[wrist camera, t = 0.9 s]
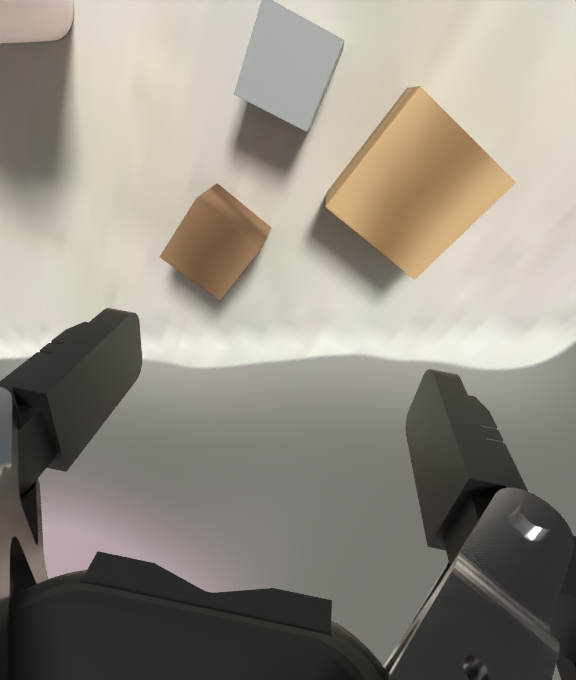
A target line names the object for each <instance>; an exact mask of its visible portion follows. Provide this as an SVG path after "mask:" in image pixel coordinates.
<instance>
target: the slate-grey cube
mask: <svg viewBox="0 0 576 680" xmlns="http://www.w3.org/2000/svg"><path fill="white" fill-rule="evenodd" d="M343 46H344V40H343V39H341V38H339V37H338V36H336V35H334V34H332V33H330V32H329V31H327V30H325V29H323V28H321V27H320V26H318V25H316V24H314V23H312V22H310V21H309V20H307V19H305V18H303V17H301V16H300V15H298V14H296V13H294V12H292V11H291V10H289V9H287V8H285V7H283V6H282V5H280V4H278V3H276V2H274V1H273V0H262V1H261V4H260V8H259V11H258V14H257V18H256V21H255V25H254V28H253V31H252V35H251V38H250V42H249V45H248V48H247V52H246V55H245V59H244V62H243V65H242V69H241V72H240V76H239V79H238V82H237V86H236V89H235V92H234V95H236V96H238V97H240V98H241V99H243V100H245V101H247V102H249V103H251V104H253V105H255V106H257V107H259V108H261V109H263V110H265V111H267V112H269V113H271V114H273V115H275V116H277V117H279V118H281V119H283V120H285V121H286V122H288V123H290V124H292V125H294V126H296V127H298V128H300V129H302V130H304V131H306V132H307V131H308V130H309V129H310V128H311V126H312V124H313V121H314V119H315V116H316V114H317V111H318V109H319V107H320V104H321V102H322V99H323V97H324V94H325V92H326V90H327V87H328V85H329V82H330V80H331V77H332V75H333V73H334V70H335V68H336V65H337V63H338V60H339V58H340V55H341V53H342V51H343Z"/></svg>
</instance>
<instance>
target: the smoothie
mask: <svg viewBox="0 0 576 680" xmlns="http://www.w3.org/2000/svg"><path fill="white" fill-rule="evenodd" d="M73 16H74V5H73V0H0V43H18V42H39V41H55V40H59V39H61V38H63V37H64V36H65V35H66V34H67V33H68V31H69V30H70V28H71V25H72V22H73Z"/></svg>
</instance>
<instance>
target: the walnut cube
mask: <svg viewBox="0 0 576 680" xmlns="http://www.w3.org/2000/svg"><path fill="white" fill-rule="evenodd" d="M270 229H271V227H270V226H269V225H267V224H266V223H265V222H264V221H263V220H261V219H260V218H259V217H258V216H256V215H255V214H254V213H253V212H252V211H250V210H249V209H248V208H247V207H245V206H244V205H243V204H242V203H241V202H239V201H238V200H237V199H236V198H234V197H233V196H232V195H231V194H230V193H228V192H227V191H226V190H225V189H223V188H222V187H221V186H220V185H219V184H216V185H214V186H213V187H211V188H210V189H209V190H207V191H206V192H204V193H203V194H202V195H200V196H199V197H198V198H196V200H195V201H194V203H193V204H192V206H191V208H190V209H189V211H188V212H187V214H186V216H185V217H184V219H183V220H182V222H181V224H180V225H179V227H178V228H177V230H176V231H175V233H174V235H173V236H172V238H171V239H170V241H169V243H168V244H167V246H166V247H165V249H164V251H163V252H162V254H161V255H160V258H162V259H163V260H164V261H166V262H167V263H168V264H170V265H171V266H173V267H174V268H175V269H177V270H178V271H180V272H181V273H182V274H184V275H185V276H186V277H188V278H189V279H191V280H192V281H193V282H195V283H196V284H198V285H199V286H200V287H202V288H203V289H204V290H206V291H207V292H209V293H210V294H211V295H213V296H214V297H215V298H217V299H218V300H221V299H222V297H223V296H224V295H225V294H226V292H227V291H228V290H229V288H230V287H231V286H232V285H233V283H234V282H235V281H236V280H237V278H238V277H239V276H240V275H241V273H242V272H243V271H244V270H245V268H246V267H247V266H248V265H249V263H250V262H251V261H252V259H253V258H254V257H255V256H256V254H257V253H258V252H259V251H260V249H261V247H262V245H263V243H264V241H265V239H266V237H267V235H268V233H269V231H270Z"/></svg>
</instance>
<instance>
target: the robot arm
mask: <svg viewBox="0 0 576 680" xmlns="http://www.w3.org/2000/svg"><path fill="white" fill-rule="evenodd" d="M141 366H142V351H141V338H140V325H139V318H138V316H137V314H136V313H132V312H127V311H121V310H116V309H111V308H107V309H105V310H103V311H102V312H101V313H100V314H98V315H97V316H96V317H95V318H94V319H92V320H91V321H90V322H89V323H88V322H83V323H81V324H78V325H76V326H74V327H71V328H69V329H66V330H65V331H63V332H62V333H61V334H60V335H58V336H57V337H56V338H55V339H53V340H52V343H48V344H47V345H46V346H44V347H43V348H42V349H41V350H40V352H37V353H36V354H34V355H33V356H32V357H31V358H29V359H28V360H27V361H25V362H24V363H23V364H22V365H20V366H19V367H18V368H17V369H15V370H14V371H13V372H12V373H10V374H9V375H8V376H6V377H5V378H4V379H3V380H1V381H0V680H552V679H553V675H554V671H555V667H556V665H557V668H558V671H559V674H560V677H561V680H576V536H574V535H573V533H572V531H571V529H570V527H569V525H568V523H567V522H566V521H565V519H564V518H563V517H562V516H561V514H560V513H559V512H558V511H557V510H556V509H555V508H554V507H552V506H551V505H550V504H549V503H547V502H546V501H545V500H543V499H542V498H540V497H538V496H536V495H535V494H532V493H531V492H528V490H527V488H526V486H525V484H524V482H523V480H522V478H521V476H520V474H519V471H518V469H517V467H516V465H515V463H514V461H513V459H512V457H511V455H510V453H509V451H508V449H507V447H506V445H505V444H504V443H503V438H502V437H501V434H500V432H499V431H498V430H497V426H496V424H495V422H494V420H493V418H492V416H491V414H490V412H489V411H488V410H487V409H486V407H485V406H484V405H483V404H482V403H480V401H479V400H478V399H477V398H476V397H474V396H469V395H467V393H466V390H465V388H464V386H463V383H462V381H461V379H460V377H459V376H458V375H457V374H452V373H447V372H442V371H436V370H431V369H429V370H427V371H426V372H425V374H424V376H423V378H422V380H421V383H420V385H419V388H418V390H417V392H416V395H415V397H414V400H413V402H412V405H411V407H410V409H409V412H408V415H407V420H406V436H407V442H408V447H409V452H410V457H411V462H412V467H413V473H414V478H415V483H416V488H417V493H418V498H419V504H420V508H421V514H422V519H423V524H424V529H425V535H426V540H427V545H428V547H433V548H437V549H442V550H446V551H447V556H448V560H449V562H448V564H447V565H446V567H445V568H444V570H443V572H442V573H441V575H440V576H439V578H438V579H437V581H436V583H435V584H434V586H433V588H432V589H431V591H430V593H429V594H428V596H427V597H426V599H425V601H424V602H423V604H422V606H421V608H420V609H419V611H418V612H417V614H416V615H415V617H414V619H413V620H412V622H411V624H410V625H409V627H408V629H407V630H406V632H405V633H404V635H403V636H402V638H401V640H400V641H399V643H398V644H397V646H396V647H395V649H394V650H393V652H392V653H391V655H390V657H389V658H388V660H387V661H386V663H385V665H384V666H382V664H381V663H380V662H379V660H378V659H377V658H376V657H375V656H374V655H373V654H372V652H371V651H370V650H369V649H368V648H367V647H366V646H365V645H364V644H363V643H362V642H361V641H360V640H359V639H357V638H356V637H355V636H354V635H353V634H352V633H350V632H349V631H347V630H346V629H345V628H343V627H342V626H340V625H339V624H337V623H335V622H333V621H331V608H332V606H331V605H332V601H331V600H327V599H322V598H318V597H313V596H308V595H303V594H299V593H294V592H289V591H284V590H279V589H274V588H270V589H257V590H245V591H232V592H219V593H210V592H206V591H204V590H202V589H200V588H198V587H196V586H194V585H193V584H191V583H189V582H187V581H185V580H184V579H182V578H180V577H178V576H176V575H175V574H173V573H171V572H169V571H167V570H165V569H164V568H162V567H160V566H158V565H156V564H155V563H150V562H146V561H141V560H136V559H131V558H127V557H122V556H117V555H112V554H108V553H103V552H97V554H96V555H95V557H94V559H93V561H92V563H91V564H90V566H89V568H88V570H84V571H78V572H72V573H67V574H64V575H60V576H57V577H54V578H51V579H48V576H47V571H46V567H45V561H44V553H43V533H42V517H41V516H42V514H41V495H40V483H39V480H38V477H39V476H40V475H41V474H42V472H43V471H44V470H45V469H46V468H51V469H56V470H61V471H67V470H68V469H69V467H70V466H71V465H72V463H73V462H74V461H75V460H76V458H77V457H78V456H79V454H80V453H81V452H82V451H83V449H84V448H85V447H86V445H87V444H88V443H89V441H90V440H91V439H92V438H93V436H94V435H95V433H96V432H97V431H98V430H99V428H100V427H101V426H102V424H103V423H104V422H105V421H106V419H107V418H108V417H109V415H110V414H111V413H112V411H113V410H114V409H115V407H116V406H117V405H118V404H119V402H120V401H121V400H122V398H123V397H124V396H125V394H126V393H127V392H128V390H129V389H130V388H131V387H132V385H133V384H134V383H135V381H136V380H137V378H138V376H139V374H140V371H141Z"/></svg>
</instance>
